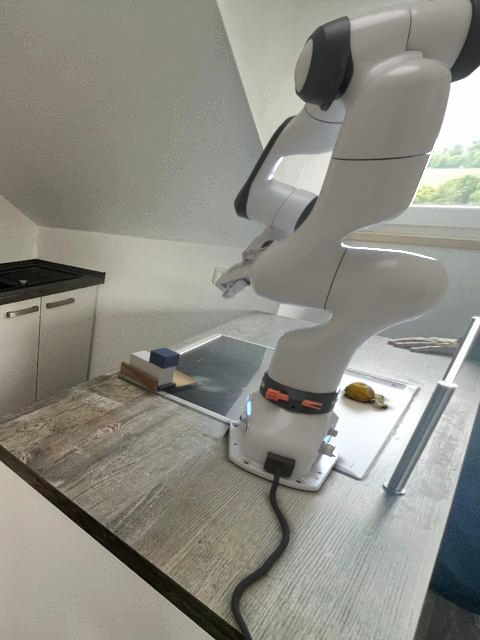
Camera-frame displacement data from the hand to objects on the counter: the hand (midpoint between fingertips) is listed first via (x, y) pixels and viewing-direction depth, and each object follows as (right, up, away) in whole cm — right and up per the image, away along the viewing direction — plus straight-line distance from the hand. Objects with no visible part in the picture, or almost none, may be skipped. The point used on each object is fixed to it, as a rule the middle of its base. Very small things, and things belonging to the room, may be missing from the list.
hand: (226, 297), depth 101 cm
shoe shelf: (-16, -22, +5) cm, 28 cm away
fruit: (+32, -27, -5) cm, 42 cm away
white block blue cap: (-19, -22, +2) cm, 29 cm away
